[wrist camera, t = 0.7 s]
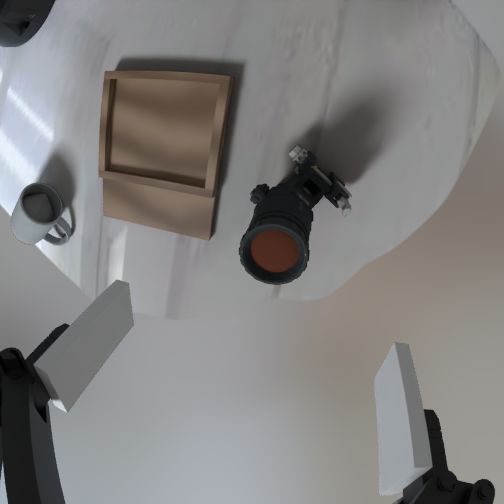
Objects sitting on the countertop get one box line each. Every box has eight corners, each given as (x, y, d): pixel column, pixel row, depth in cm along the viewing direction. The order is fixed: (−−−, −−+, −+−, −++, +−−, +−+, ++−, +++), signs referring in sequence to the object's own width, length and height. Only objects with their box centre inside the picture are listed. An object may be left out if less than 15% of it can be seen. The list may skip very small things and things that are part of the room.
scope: (370, 240, 22) (278, 315, 26) (350, 188, 34) (290, 244, 38) (289, 161, 20) (203, 254, 25) (297, 138, 32) (240, 200, 37)
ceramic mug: (28, 204, 43) (-1, 222, 37) (46, 175, 40) (12, 192, 33) (62, 249, 47) (34, 272, 40) (82, 225, 43) (52, 248, 37)
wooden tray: (113, 71, 31) (104, 71, 30) (234, 77, 30) (230, 76, 28) (107, 213, 41) (99, 218, 39) (211, 237, 40) (206, 244, 38)
